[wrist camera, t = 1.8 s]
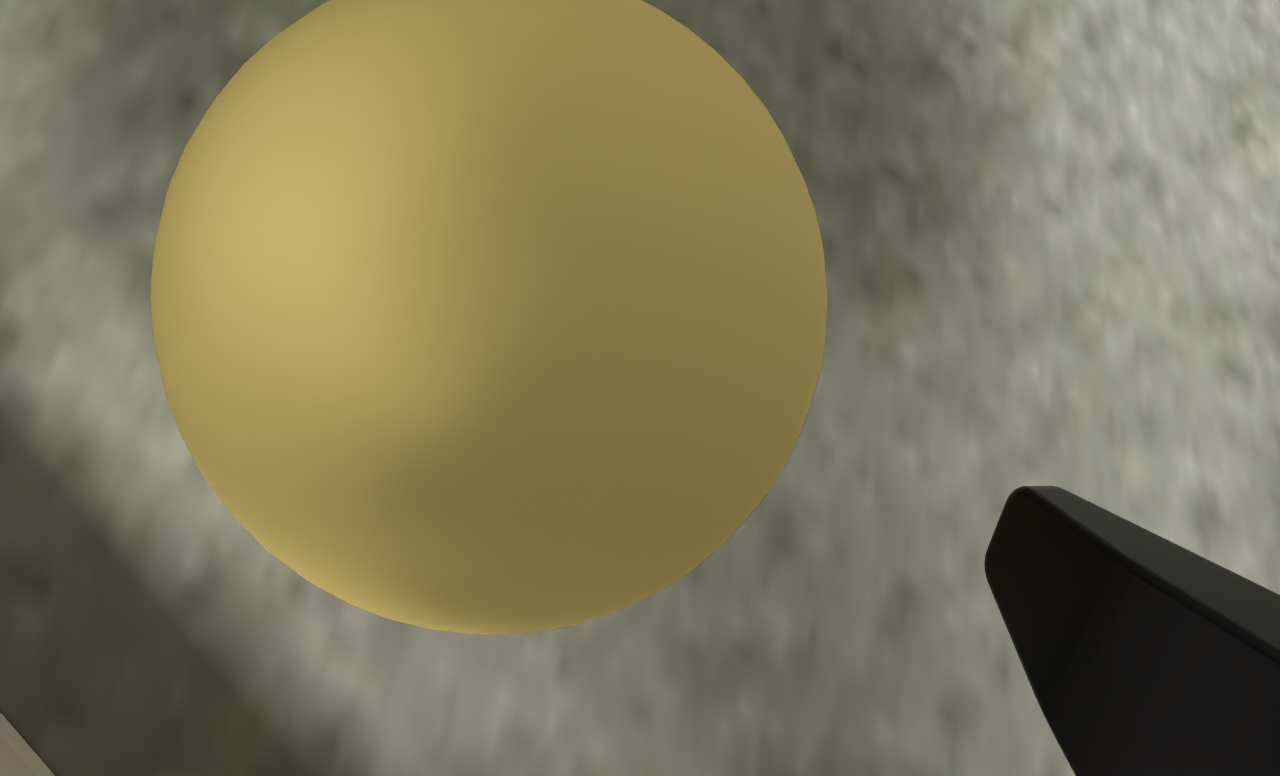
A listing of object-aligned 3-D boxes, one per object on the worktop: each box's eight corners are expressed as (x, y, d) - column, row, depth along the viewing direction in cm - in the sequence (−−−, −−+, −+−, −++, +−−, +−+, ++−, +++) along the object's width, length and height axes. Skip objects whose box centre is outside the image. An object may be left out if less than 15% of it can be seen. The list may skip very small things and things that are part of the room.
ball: (790, 423, 16) (1103, 245, 10) (432, 768, 14) (541, 829, 7) (485, 78, 16) (596, -324, 10) (70, 350, 14) (-146, 41, 7)
